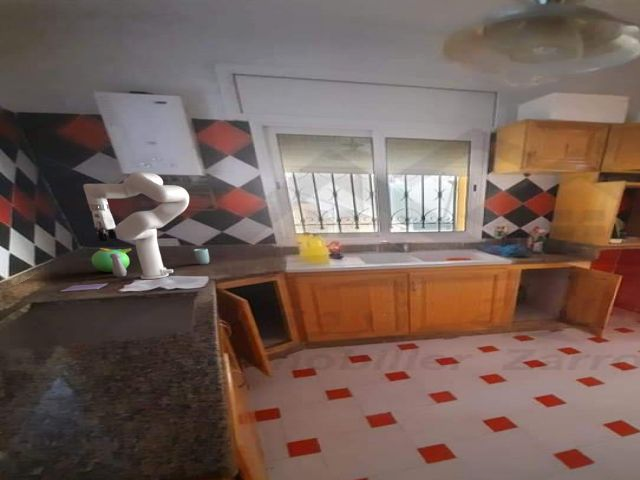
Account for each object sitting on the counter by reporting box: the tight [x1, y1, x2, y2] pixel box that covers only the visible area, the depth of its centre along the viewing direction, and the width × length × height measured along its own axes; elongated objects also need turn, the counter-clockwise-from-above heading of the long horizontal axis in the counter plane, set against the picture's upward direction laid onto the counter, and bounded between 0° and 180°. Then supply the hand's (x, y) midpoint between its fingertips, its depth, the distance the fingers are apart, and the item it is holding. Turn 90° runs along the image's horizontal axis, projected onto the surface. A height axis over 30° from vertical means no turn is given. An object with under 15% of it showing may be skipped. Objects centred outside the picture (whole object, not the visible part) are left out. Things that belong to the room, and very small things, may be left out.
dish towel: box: [59, 282, 109, 293], centre depth 160 cm, size 14×10×1 cm
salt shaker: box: [110, 253, 128, 278], centre depth 181 cm, size 6×6×13 cm
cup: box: [193, 248, 210, 266], centre depth 212 cm, size 8×8×10 cm
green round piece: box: [91, 247, 132, 273], centre depth 190 cm, size 18×17×15 cm
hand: (108, 239), depth 176 cm, fingers open, 9 cm apart
